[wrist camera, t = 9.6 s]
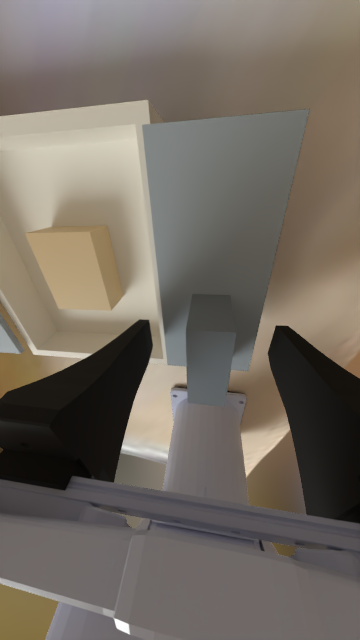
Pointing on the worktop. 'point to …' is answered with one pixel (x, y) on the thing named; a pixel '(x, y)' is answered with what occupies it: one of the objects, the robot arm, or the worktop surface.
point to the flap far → (8, 339)
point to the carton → (78, 228)
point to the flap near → (218, 235)
